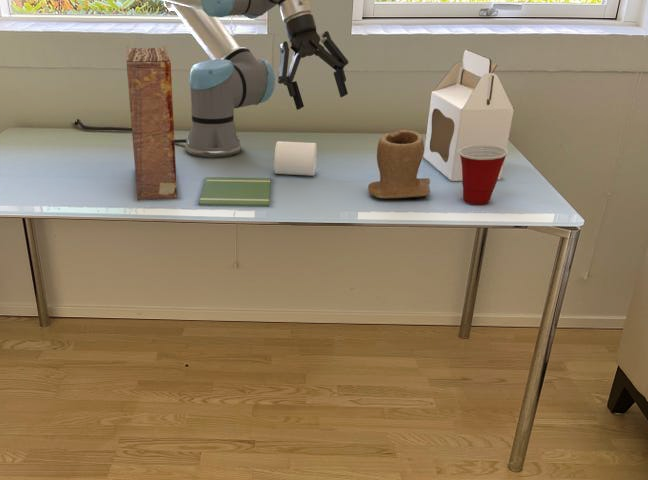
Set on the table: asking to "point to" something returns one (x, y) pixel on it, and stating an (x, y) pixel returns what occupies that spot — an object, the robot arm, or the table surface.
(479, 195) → the plastic cup
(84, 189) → the table surface
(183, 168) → the table surface
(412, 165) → the stone cup
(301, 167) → the mug
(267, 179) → the cloth
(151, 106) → the book
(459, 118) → the gable box
